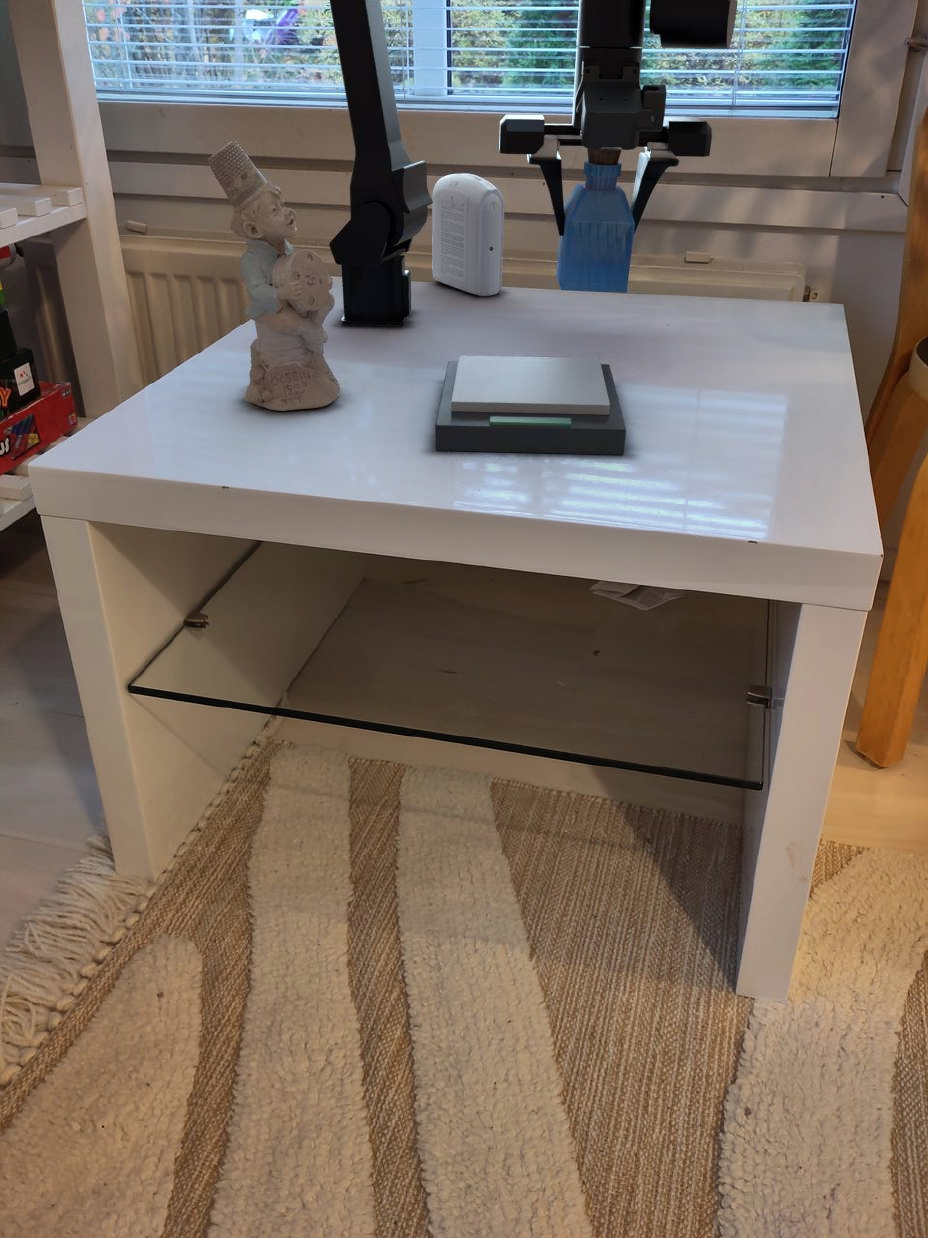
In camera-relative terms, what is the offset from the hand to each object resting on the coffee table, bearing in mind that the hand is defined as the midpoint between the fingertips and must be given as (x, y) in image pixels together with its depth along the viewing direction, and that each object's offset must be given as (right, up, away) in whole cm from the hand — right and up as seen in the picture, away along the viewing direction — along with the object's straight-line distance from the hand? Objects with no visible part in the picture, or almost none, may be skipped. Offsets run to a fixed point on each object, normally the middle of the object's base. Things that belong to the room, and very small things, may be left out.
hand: (595, 235), depth 96 cm
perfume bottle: (0, -4, +2) cm, 5 cm away
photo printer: (-12, +3, +24) cm, 27 cm away
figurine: (-27, -18, -11) cm, 34 cm away
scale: (-7, -20, -14) cm, 25 cm away
